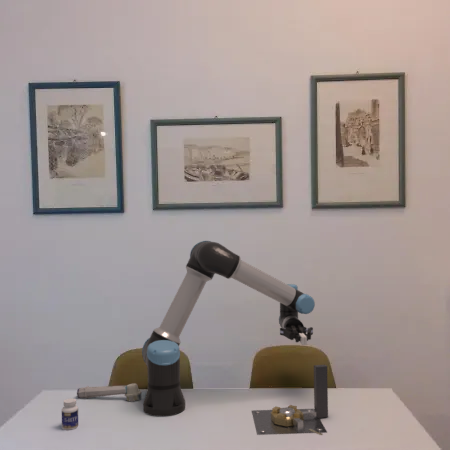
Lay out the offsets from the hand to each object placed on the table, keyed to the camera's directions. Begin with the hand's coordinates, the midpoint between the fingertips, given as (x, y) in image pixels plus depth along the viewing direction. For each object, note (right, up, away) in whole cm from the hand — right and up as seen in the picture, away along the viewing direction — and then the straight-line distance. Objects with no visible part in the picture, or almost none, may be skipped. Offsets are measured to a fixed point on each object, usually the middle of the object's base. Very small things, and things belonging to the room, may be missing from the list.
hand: (304, 341), depth 175 cm
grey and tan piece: (-3, -24, -9) cm, 25 cm away
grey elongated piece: (-72, -27, +17) cm, 79 cm away
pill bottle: (-79, -27, -9) cm, 84 cm away
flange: (-7, -25, -10) cm, 28 cm away
